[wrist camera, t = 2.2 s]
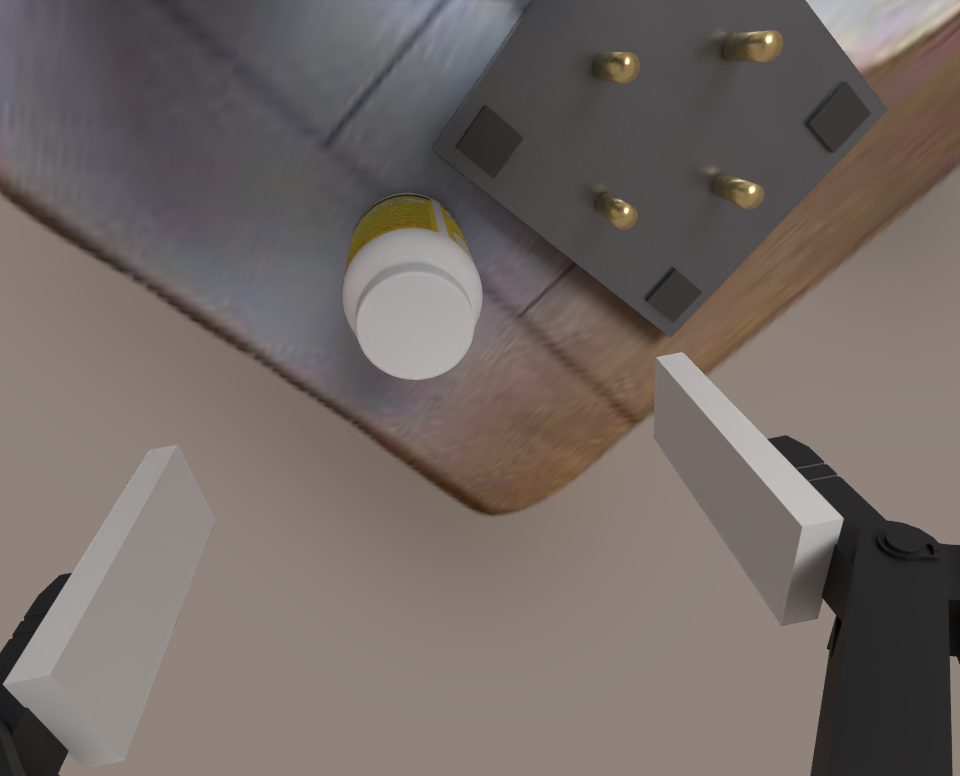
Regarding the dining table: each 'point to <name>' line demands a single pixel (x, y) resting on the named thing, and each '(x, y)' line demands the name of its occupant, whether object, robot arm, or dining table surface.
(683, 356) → the robot arm
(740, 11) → the plate
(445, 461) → the dining table surface
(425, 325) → the pill bottle
